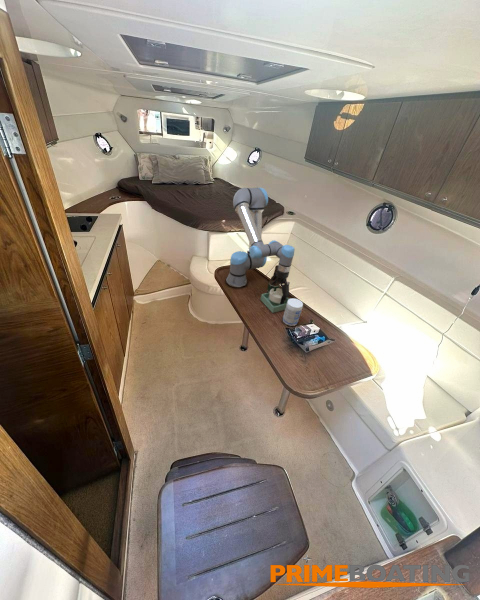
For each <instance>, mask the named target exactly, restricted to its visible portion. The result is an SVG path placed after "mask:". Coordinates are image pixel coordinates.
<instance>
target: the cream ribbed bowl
mask: <svg viewBox="0 0 480 600" xmlns="http://www.w3.org/2000/svg"><path fill="white" fill-rule="evenodd" d="M282 296H283V293H282V288H281V287H279V288H277V289H276V291H274V289H271V290H270V293H269V299H270V300H271V301H272V302H275V303H280V302H281V298H282Z"/></svg>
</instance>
